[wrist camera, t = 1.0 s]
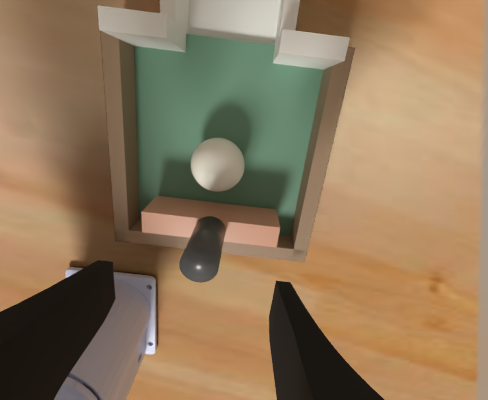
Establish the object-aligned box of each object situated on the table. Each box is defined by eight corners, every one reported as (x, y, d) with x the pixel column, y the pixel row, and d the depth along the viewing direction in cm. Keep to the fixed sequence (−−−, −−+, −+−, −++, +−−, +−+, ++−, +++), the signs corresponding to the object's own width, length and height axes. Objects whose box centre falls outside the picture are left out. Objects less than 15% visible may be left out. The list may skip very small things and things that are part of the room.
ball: (242, 185, 19) (240, 202, 16) (195, 179, 19) (183, 195, 16) (248, 137, 18) (247, 145, 15) (197, 131, 18) (186, 138, 15)
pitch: (297, 241, 22) (310, 279, 18) (132, 223, 22) (100, 256, 17) (357, -36, 15) (404, -94, 11) (120, -67, 15) (62, -141, 11)
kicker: (272, 229, 20) (282, 291, 14) (157, 216, 20) (112, 272, 14) (276, 206, 20) (289, 259, 13) (157, 192, 20) (109, 239, 13)
